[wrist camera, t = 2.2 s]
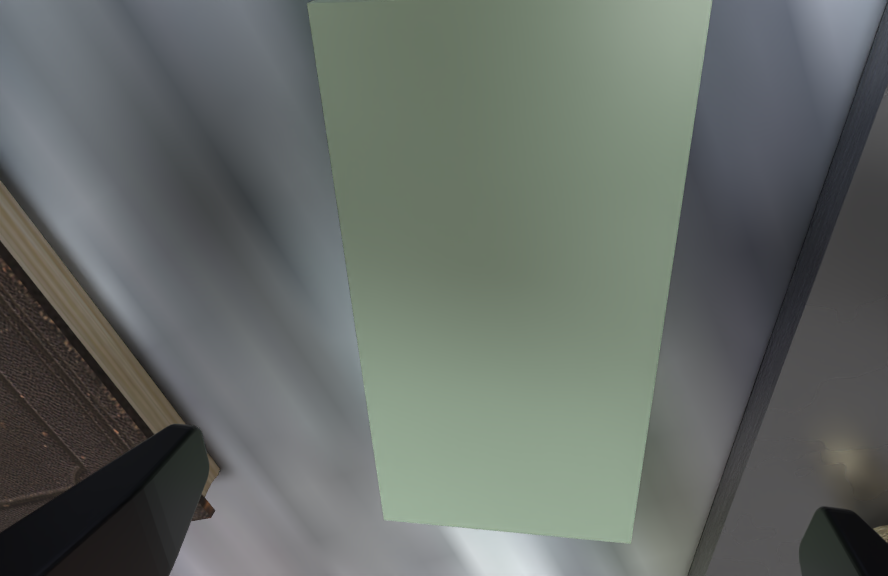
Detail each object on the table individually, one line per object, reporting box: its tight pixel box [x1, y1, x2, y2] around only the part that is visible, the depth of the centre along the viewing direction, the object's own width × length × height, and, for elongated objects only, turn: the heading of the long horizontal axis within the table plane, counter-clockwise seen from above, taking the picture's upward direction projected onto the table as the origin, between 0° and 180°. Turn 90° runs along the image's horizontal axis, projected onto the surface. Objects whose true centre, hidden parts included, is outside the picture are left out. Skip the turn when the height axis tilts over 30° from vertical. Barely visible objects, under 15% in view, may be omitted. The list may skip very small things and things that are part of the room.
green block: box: [307, 0, 712, 544], centre depth 14 cm, size 6×12×3 cm, turn 3°
